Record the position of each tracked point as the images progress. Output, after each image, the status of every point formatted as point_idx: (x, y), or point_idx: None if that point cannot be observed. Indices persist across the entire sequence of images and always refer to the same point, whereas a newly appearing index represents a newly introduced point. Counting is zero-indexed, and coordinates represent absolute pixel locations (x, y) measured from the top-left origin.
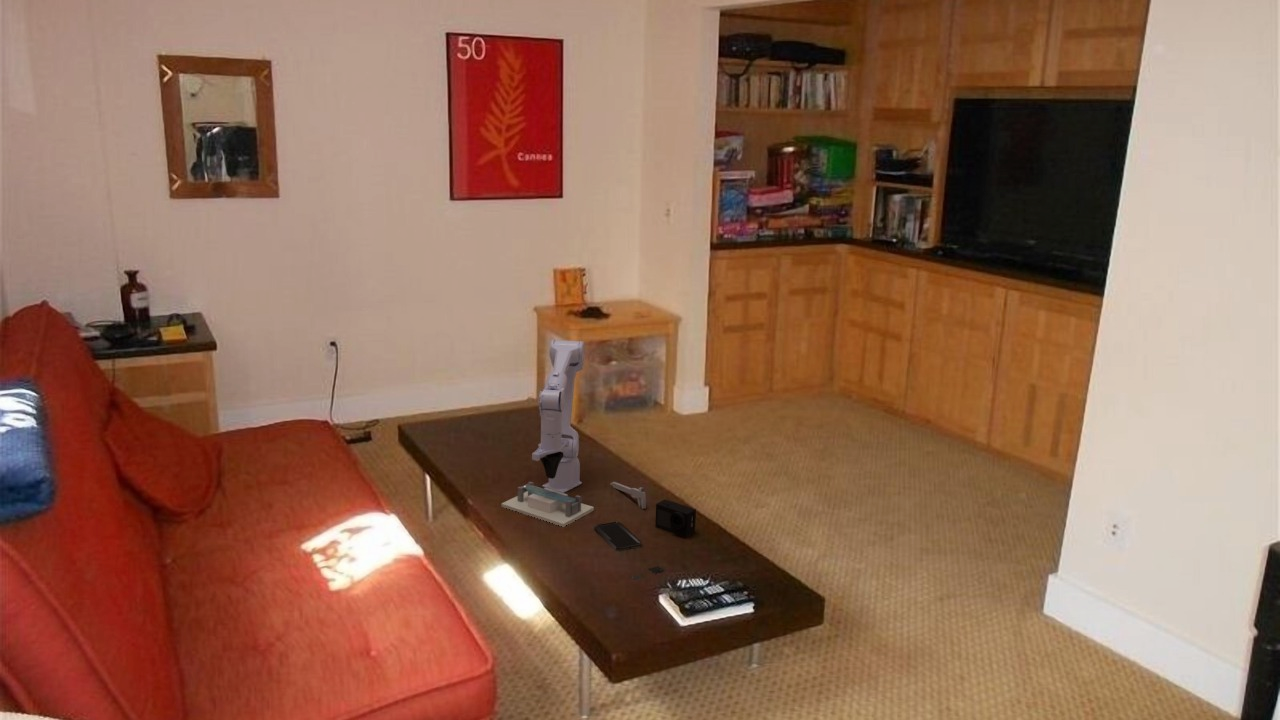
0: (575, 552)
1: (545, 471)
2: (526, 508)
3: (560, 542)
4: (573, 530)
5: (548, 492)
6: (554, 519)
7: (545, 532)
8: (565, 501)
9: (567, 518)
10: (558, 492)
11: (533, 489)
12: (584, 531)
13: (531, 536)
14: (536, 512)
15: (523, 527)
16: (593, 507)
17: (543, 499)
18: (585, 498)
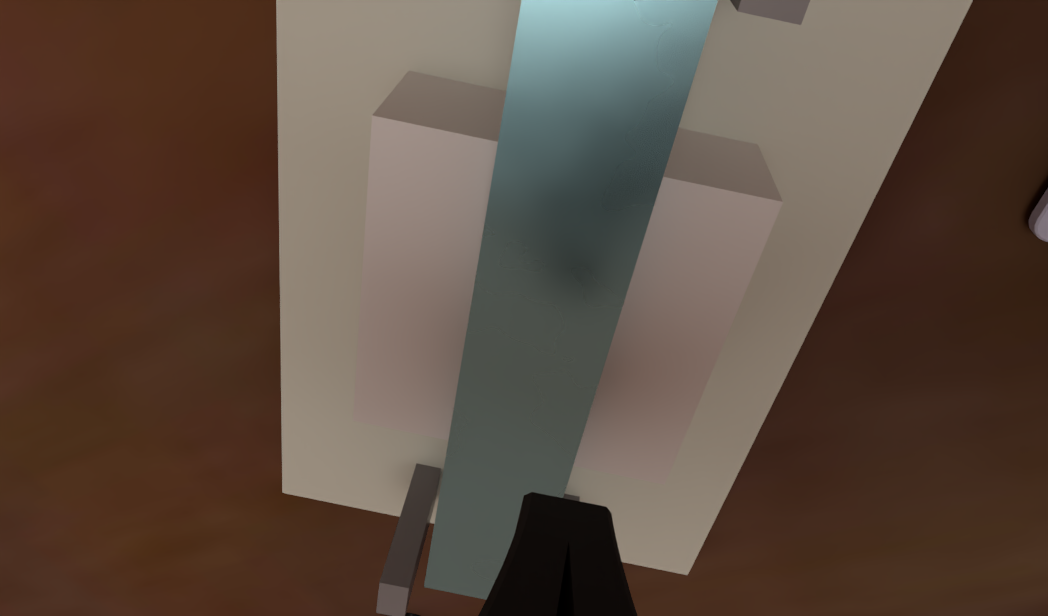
0: (70, 605)
1: (501, 572)
2: (353, 86)
3: (98, 518)
4: (297, 530)
5: (546, 352)
6: (305, 418)
7: (136, 398)
8: (431, 547)
9: (384, 488)
10: (682, 392)
11: (542, 138)
12: (330, 581)
13: (4, 340)
14: (329, 232)
15: (67, 217)
16: (681, 573)
17: (404, 329)
18: (928, 442)
